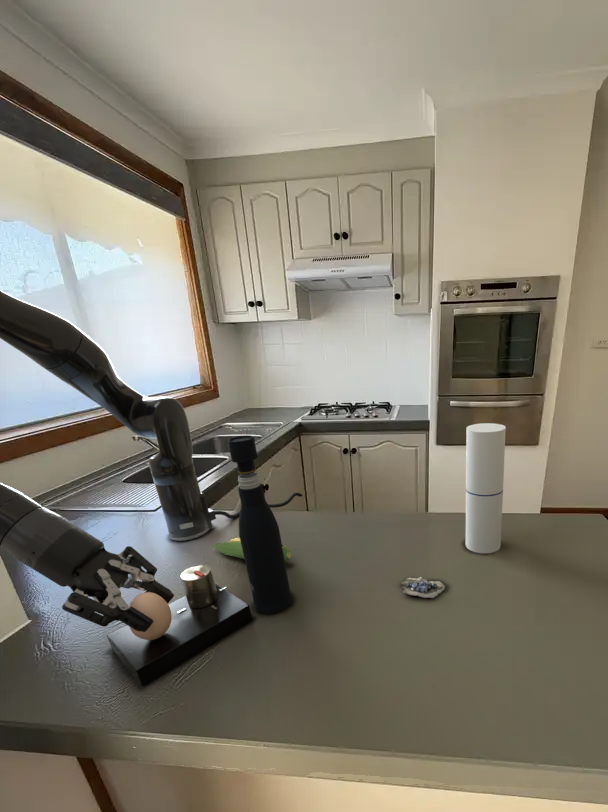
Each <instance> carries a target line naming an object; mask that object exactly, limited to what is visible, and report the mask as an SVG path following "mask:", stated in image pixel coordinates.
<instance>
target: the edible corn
mask: <svg viewBox="0 0 608 812" xmlns="http://www.w3.org/2000/svg"><path fill="white" fill-rule="evenodd" d="M282 548H283V554H284V559H285V563H287V562H288V561H289V560H290V559H291V557H292V553H291V552H290V549H289V548H288V546H286V545H285V544H283V543H282ZM213 549H215V551H217V552H219V553H221V554H223V555H225V556H229V557H236V558H239V559H241V560H245V559H244V555H243V550H242V546H241V541H240V537H232V538H231V539H229V540H228V541H225V542H224V541H223V542H219V543H216V544H214V545H213Z"/></svg>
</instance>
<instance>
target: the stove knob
mask: <svg viewBox="0 0 608 812" xmlns="http://www.w3.org/2000/svg"><path fill="white" fill-rule="evenodd" d="M179 576H180V577H179V578H180V581H181V584H182V585H181V586H182V587H183V588H182V589H183V591H184V594H185V596H186V598H187V601H188V605H189V606H190V607H192V608H202V607H206V606H208V605H210V604H212V603H213V602H215V601H216V599H217V597H218V594H217V591H216V587H215V583H216V582H215V579H214V575H213V571H212V567H210V566H209V565H206V564H198V565H194V566H190V567H188V568H186V569H185V570H184V571H182V572H181V573H180V575H179Z"/></svg>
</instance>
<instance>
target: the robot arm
mask: <svg viewBox="0 0 608 812" xmlns="http://www.w3.org/2000/svg"><path fill="white" fill-rule="evenodd" d="M0 339H1V340H2V341H3V342H5V343H6V344H8V345H10V346H11V347H12V348H14V349H16V350H17V351H19V352H20V353H22V354H24V355H25V356H26V357H28V358H29V359H30V360H32V361H33V362H34V363H36V364H37V365H39V366H40V367H42V368H43V369H45V370H46V371H47V372H49V373H51V374H52V375H53V376H54V377H57V378H58V379H59V380H61V381H62V382H64V383H66V384H67V385H69V387H70V386H71V387H72V388H74V389H75V390H76V391H78V392H79V393H81V394H82V395H84V396H85V397H87V398H88V399H89V400H91V401H92V402H94V403H96V404H97V405H99V406H100V407H102V408H103V409H104V410H106V411H107V412H108V413H110V414H111V415H112V416H113V417H114V418H115V419H116V420H117V421H119V422H120V423H121V424H122V425H124V426H125V427H126V428H127V429H128V430H129V431H131V432H132V433H134V434H135V435H137V436H138V437H140V438H144V439H149V440H157V445H158V452H157V453H156V454H154V455H152V456H151V457H149V459H148V467H149V470H150V473H151V477H152V480H153V483H154V487H155V490H156V493H157V497H158V500H159V503H160V508H161V510H162V511H161V512H162V514H163V517H164V521H165V524H166V528H167V532H168V536H169V538H170V540H172V541H176V542H183V541H190V540H195V539H197V538H200V537H201V536H204V535H206V534H207V533H209V531H210V530H212V529H214V527H213V522H212V521H215V520H216V519H217V516H219V515H220V516H224V517H226V518H228V519H236V518H239V516H240V510H238V511H237V512H236V513H234V514H230V513H228V512H227V511H223V510H214V509H212V508H209V507H208V503H207V499H206V495H205V493H204V492H202V491H201V488H200V484H199V480H198V477H197V473H196V469H195V464H194V460H193V454H194V453H193V451H194V447H193V441H192V436H191V431H190V426H189V425H190V424H189V421H188V415H187V413H186V410H185V408H184V406H183V405H182V403H180V401H179V400H177V399H176V398H174V397H169V396H150V397H149V396H145V395H142V394H141V393H140V392H138V391H136V390H135V389H134V388H132V387H131V386H130V385H128V384H127V383H125V382H124V381H123V380H122V379H121V377H119V375H118V374H117V372H116V370H115V367H114V365H113V363H112V361H111V359H110V358H109V355H108V354H107V352H106V351H105V350H104V349H103V348H102V347H101V346H100V345H99V344H98V343H97V342H96V341H94V340H93V339H92V338H91V337H90V336H89V335H87V333H85V332H84V331H82V330H81V329H80V328H79V327H77V326H76V325H75V324H73V323H72V322H70V321H69V320H67V319H65V318H63V317H61V316H60V315H58V314H55V313H53V312H50V311H49V310H46V309H43V308H41V307H38V306H36V305H34V304H31V303H29V302H27V301H24V300H21V299H19V298H17V297H14V296H12V295H10V294H8V293H6V292H4V291H2V290H1V289H0ZM295 497H299V498H300V497H304V496H303V494H302V493H300V492H297V491H296V492H293V493H292V494H291V495H290V496H289V497H288V498H287V499H286V500H284V501H283V502H280V503H267V504H268V505H269V507H270V509H272V508H273V509H274V508H275V509H276V508H282V507H284V506H287V505H288V504H290V503H291V501H292V500H293V499H294V498H295ZM0 548H2V549H3V550H4V551H6V552H7V553H8V554H9V555H11V556H12V557H13V558H14V559H16V560H17V561H18V562H21V563H22V564H24V565H26V566H27V567H29V568H30V569H31V570H34V571H35V572H37V573H38V574H40V575H42V576H43V577H45V578H46V579H48V580H50V581H52V582H54V583H55V584H57V585H58V586H60V587H64V588H65V587H69V588H70V590H71V591H72V592H71V593H70V594H69V595H68V597H67V599H65V601H64V603H63V604H62V606H61V609H62V610H63V611H64V612H67V613H69V614H72V615H74V616H77V617H79V618H81V619H83V620H86V621H87V622H91V623H93V624H95V625H98V626H101V627H107V626H109V625H110V624H111V623H113V622H115V621H119V622H121V623H123V624H125V626H126V625H128V626H130V627H131V628H133V629H135V630H136V631H142V632H146V631H147V629H148V628H149V627H150V626H151V625H152V623H153V620H152V619H151V618H150V617H148V616H146V615H145V614H143V613H142V612H140V611H138V610H137V609H135V608H133V607H132V606H131V607H130V608H129V606H130V605H128V603H127V602H126V600H125V599H124V598H123V596H122V591H121V590H120V589H121V588H122V589H126V590H127V589H136V590H139V591H143V592H151V593H155V594H157V595H159V596H161V597H162V598H163V599H164V600H165V601H166V602H167V603H168V604H170V603H171V601H172V600H173V598H174V597H175V593H173V592H172V590H171V589H169V588H167V587H166V586H164V585H163V584H162V583H160V582H159V581H158V580H156V577H155V576H156V573H157V572H158V568H157V567H156V566H155V565H153V564H152V563H151V562H150V561H149V560H148V559H147V558H146V557H144V556H143V555H142V554H141V553H139V551H137V550H136V549H135V548H133V547H132V546H131V545H129V546H126V547H125V548H124V549H123V550H122V551H121V552H119V553H113V552H110V551H108V550H106V549H105V544H104V543H103V541H101V540H100V539H99V538H97V537H95V536H93V535H92V534H90V533H89V532H87V531H86V530H84V529H82V528H81V527H79V526H78V525H77V524H75V523H73V522H72V521H70V520H69V519H68V518H66V517H64V516H62V515H61V514H59V513H57V512H55V511H53V510H51V509H49V508H47V507H45V506H43V505H42V504H41V503H38V502H37V500H35V499H32V498H31V497H29V496H28V495H26V494H25V493H24V492H22V491H20V490H18V489H16V488H14V487H11V486H9V485H7V484H4V483H2V482H0Z"/></svg>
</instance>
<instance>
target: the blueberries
mask: <svg viewBox="0 0 608 812" xmlns="http://www.w3.org/2000/svg"><path fill="white" fill-rule="evenodd" d="M400 585H401V586H400V587H401V588H402V589H403V590H402V593H403V594H405V595H410V596H418V597H420V598H424V599H427V598H429V599H430V598H431V599H434V598H436V597H438V596H439V594H441V593H442V592H443V591H445V590H446V586H445V585H444V583H442V582H441V581H439V580H435V581H434V580H432V579H431V580H427V578H423V577H422V576H420V577H418V576H417V577H416V576H410V577H407V578H406V579H404V580H403V581H401V582H400Z"/></svg>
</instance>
